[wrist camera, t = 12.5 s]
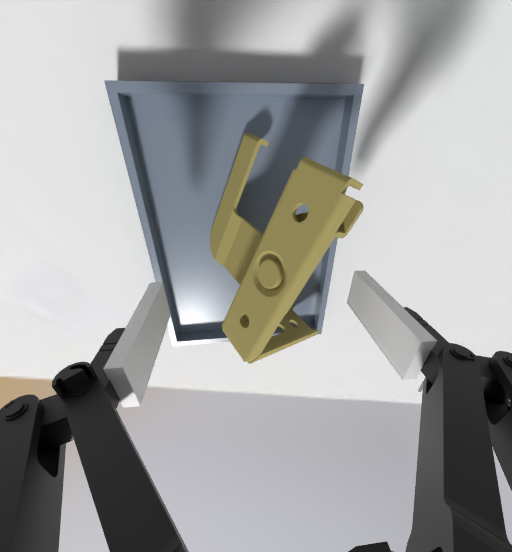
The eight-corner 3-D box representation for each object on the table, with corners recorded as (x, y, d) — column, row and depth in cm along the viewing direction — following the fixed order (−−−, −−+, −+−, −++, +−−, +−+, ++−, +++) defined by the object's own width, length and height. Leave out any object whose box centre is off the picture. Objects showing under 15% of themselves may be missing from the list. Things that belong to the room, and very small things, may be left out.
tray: (117, 87, 16) (104, 80, 15) (350, 90, 18) (363, 84, 16) (175, 333, 28) (172, 346, 26) (315, 322, 29) (321, 333, 27)
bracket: (257, 277, 30) (187, 282, 23) (312, 164, 24) (237, 125, 17) (315, 336, 25) (244, 367, 18) (409, 210, 18) (356, 179, 11)
